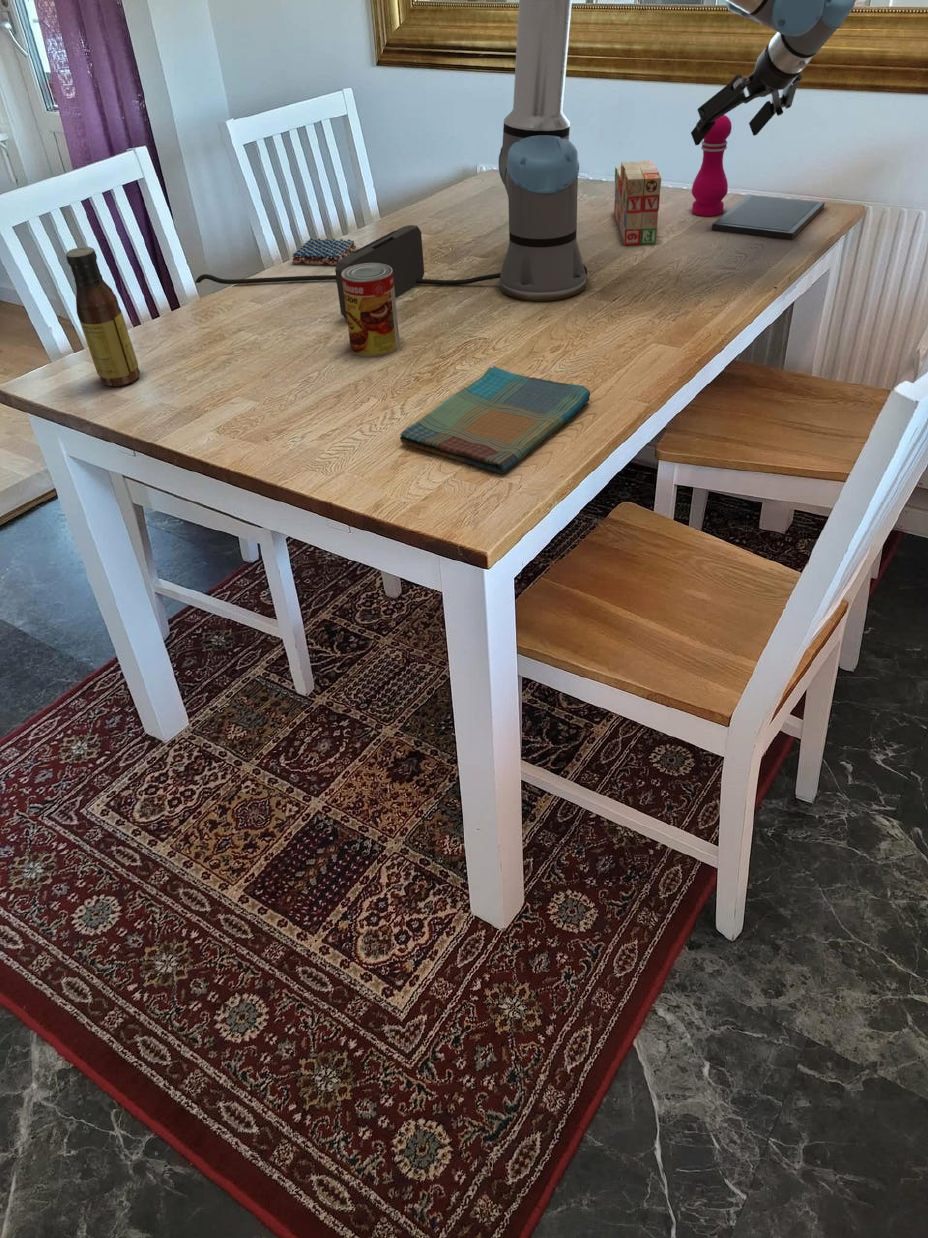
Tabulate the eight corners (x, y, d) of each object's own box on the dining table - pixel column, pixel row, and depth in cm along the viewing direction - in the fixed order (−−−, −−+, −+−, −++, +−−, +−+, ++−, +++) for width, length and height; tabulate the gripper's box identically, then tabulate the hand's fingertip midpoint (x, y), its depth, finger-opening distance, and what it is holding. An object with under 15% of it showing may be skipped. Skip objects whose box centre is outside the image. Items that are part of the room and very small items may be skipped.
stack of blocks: (613, 212, 205) (615, 149, 197) (643, 211, 205) (647, 148, 197) (624, 245, 188) (627, 177, 181) (656, 244, 188) (661, 176, 180)
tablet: (791, 239, 186) (792, 232, 185) (711, 229, 193) (712, 223, 192) (823, 208, 200) (825, 201, 200) (748, 199, 207) (748, 193, 207)
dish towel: (594, 403, 136) (595, 386, 135) (506, 477, 121) (505, 459, 120) (491, 378, 144) (491, 362, 143) (396, 445, 129) (395, 428, 128)
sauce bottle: (125, 367, 154) (89, 239, 142) (149, 377, 151) (114, 246, 138) (90, 383, 150) (49, 252, 138) (114, 392, 147) (74, 260, 135)
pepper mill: (687, 216, 201) (697, 108, 188) (691, 206, 206) (701, 101, 194) (723, 217, 199) (735, 109, 186) (726, 207, 204) (738, 101, 192)
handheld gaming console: (413, 277, 180) (408, 221, 174) (425, 279, 179) (421, 223, 173) (339, 321, 165) (331, 261, 159) (352, 323, 164) (345, 263, 158)
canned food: (345, 342, 158) (335, 267, 150) (391, 333, 160) (383, 259, 152) (358, 360, 152) (348, 283, 144) (406, 350, 154) (399, 274, 146)
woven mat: (290, 265, 189) (288, 254, 188) (309, 247, 197) (308, 237, 196) (340, 266, 187) (339, 256, 185) (358, 248, 195) (357, 238, 193)
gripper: (733, 84, 166) (676, 160, 187) (849, 67, 174) (782, 142, 194) (718, 45, 167) (663, 125, 187) (835, 29, 174) (769, 108, 194)
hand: (723, 133), depth 191 cm, fingers open, 13 cm apart
